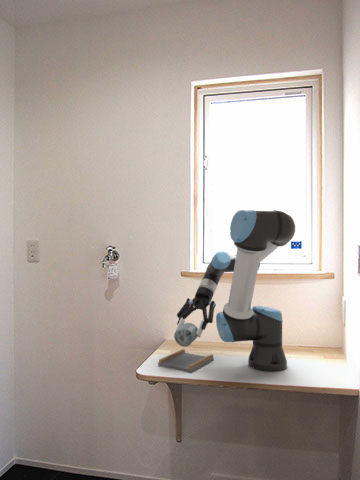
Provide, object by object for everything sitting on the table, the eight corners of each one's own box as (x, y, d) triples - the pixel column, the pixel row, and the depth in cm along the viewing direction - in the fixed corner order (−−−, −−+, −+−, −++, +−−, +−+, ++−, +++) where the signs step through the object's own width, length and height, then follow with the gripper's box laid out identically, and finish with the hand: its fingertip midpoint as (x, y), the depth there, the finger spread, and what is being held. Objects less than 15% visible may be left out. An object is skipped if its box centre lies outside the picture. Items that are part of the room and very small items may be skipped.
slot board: (214, 360, 160) (214, 354, 160) (192, 372, 144) (192, 366, 144) (182, 354, 168) (182, 348, 168) (158, 365, 153) (158, 359, 153)
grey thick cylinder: (194, 341, 148) (185, 317, 151) (173, 350, 150) (165, 327, 154) (207, 341, 160) (198, 319, 163) (187, 350, 162) (179, 328, 166)
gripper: (230, 298, 167) (214, 342, 154) (188, 294, 179) (169, 335, 166) (225, 287, 163) (207, 332, 149) (182, 284, 175) (162, 325, 161)
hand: (187, 333), depth 158 cm, fingers closed on grey thick cylinder, 9 cm apart
